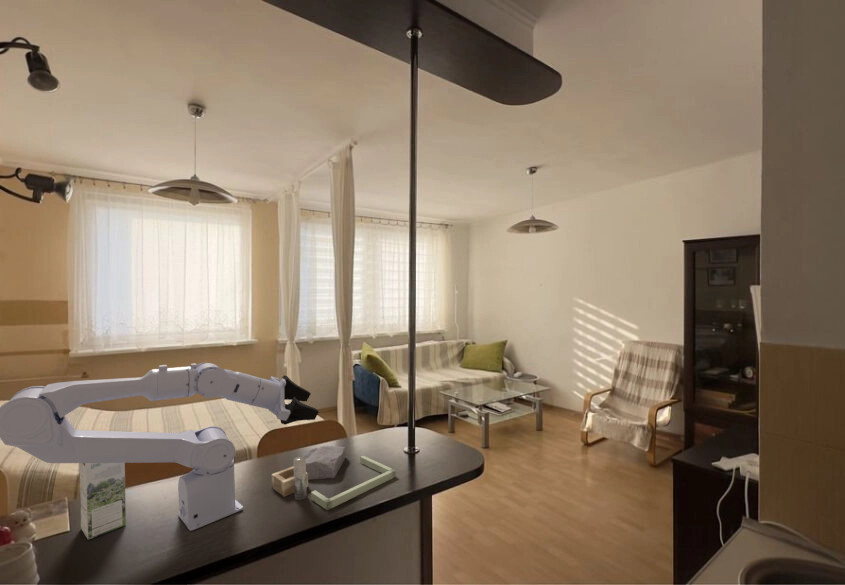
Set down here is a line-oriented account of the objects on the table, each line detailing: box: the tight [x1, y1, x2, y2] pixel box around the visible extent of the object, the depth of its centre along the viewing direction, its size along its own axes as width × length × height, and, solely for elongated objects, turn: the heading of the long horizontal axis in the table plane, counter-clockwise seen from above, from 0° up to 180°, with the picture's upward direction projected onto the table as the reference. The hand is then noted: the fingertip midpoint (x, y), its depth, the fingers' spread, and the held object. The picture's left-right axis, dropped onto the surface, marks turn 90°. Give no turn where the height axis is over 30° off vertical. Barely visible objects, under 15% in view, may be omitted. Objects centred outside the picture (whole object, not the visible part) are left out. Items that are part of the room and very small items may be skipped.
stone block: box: [303, 445, 347, 481], centre depth 96 cm, size 12×5×10 cm
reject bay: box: [310, 455, 397, 511], centre depth 88 cm, size 18×12×2 cm, turn 136°
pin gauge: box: [293, 456, 308, 501], centre depth 82 cm, size 2×2×8 cm
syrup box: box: [78, 463, 127, 541], centre depth 73 cm, size 6×6×14 cm
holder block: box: [271, 465, 309, 498], centre depth 86 cm, size 6×6×3 cm
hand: (312, 405), depth 90 cm, fingers open, 7 cm apart
